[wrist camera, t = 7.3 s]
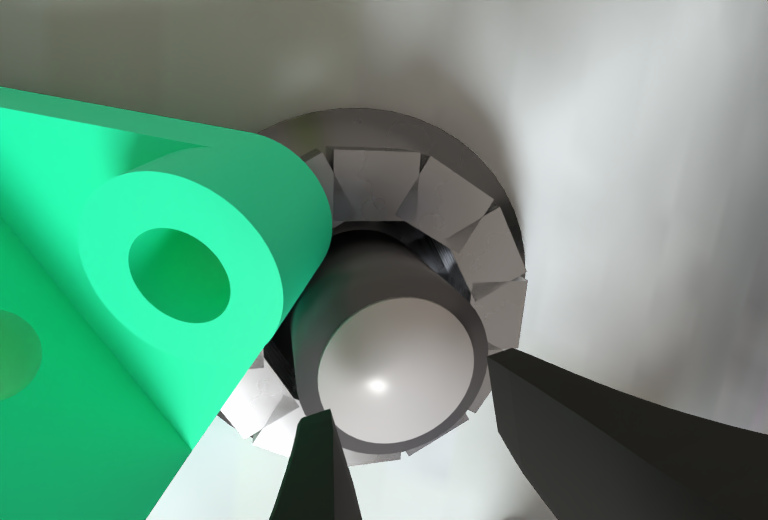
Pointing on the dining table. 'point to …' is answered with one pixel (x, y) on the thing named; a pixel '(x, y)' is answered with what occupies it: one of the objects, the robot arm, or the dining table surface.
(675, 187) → the dining table surface
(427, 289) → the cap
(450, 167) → the grey knurled ring
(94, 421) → the camera mount
